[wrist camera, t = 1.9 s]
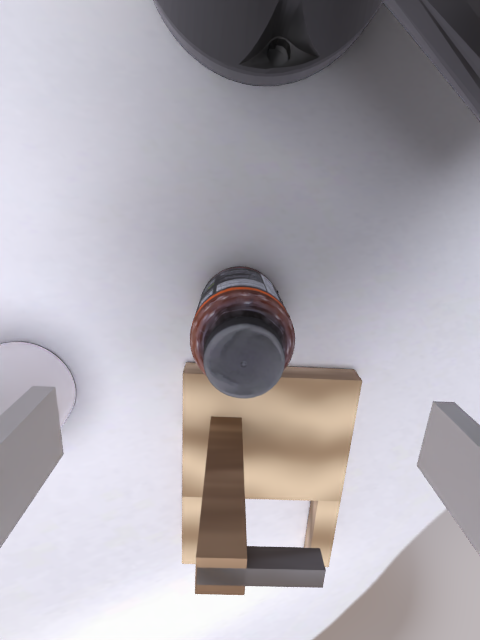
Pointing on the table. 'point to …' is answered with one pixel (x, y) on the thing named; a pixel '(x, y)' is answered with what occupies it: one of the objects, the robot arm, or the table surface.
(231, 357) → the supplement bottle
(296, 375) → the oak forked base
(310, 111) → the table surface
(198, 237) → the table surface
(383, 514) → the table surface
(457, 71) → the robot arm
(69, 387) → the candle holder
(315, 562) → the hook post
